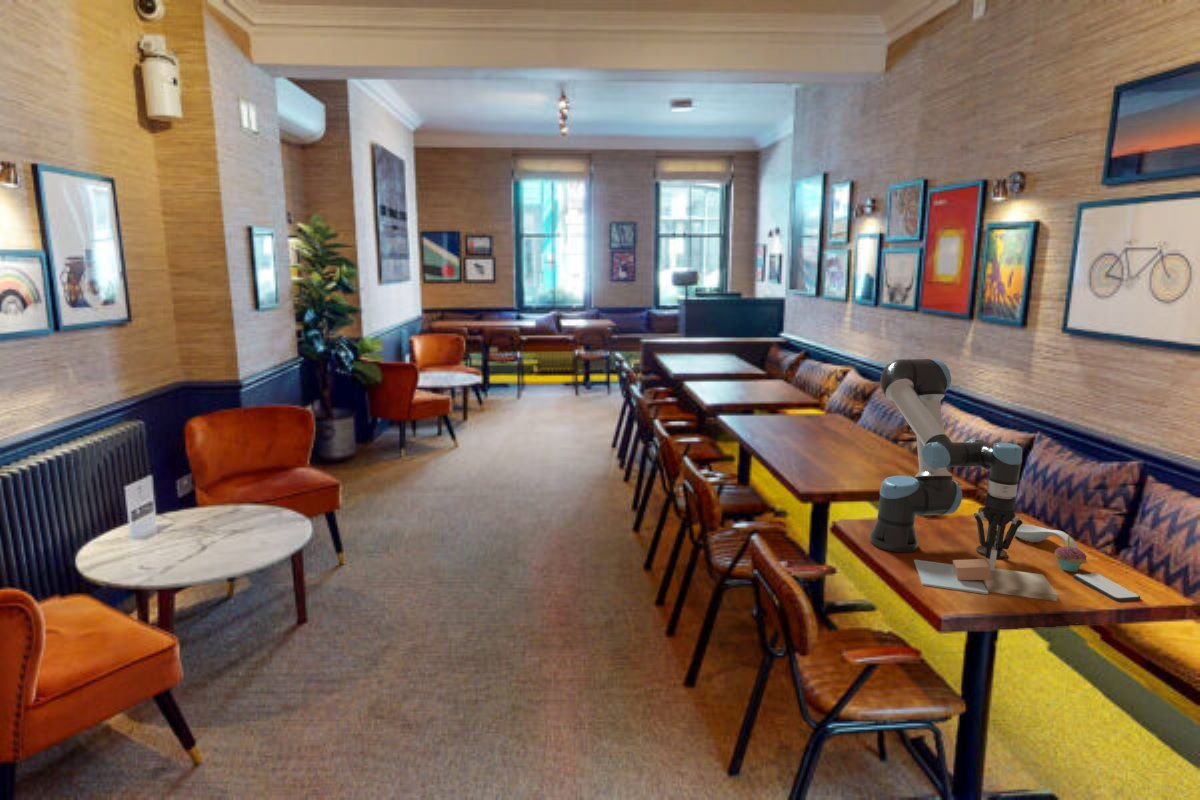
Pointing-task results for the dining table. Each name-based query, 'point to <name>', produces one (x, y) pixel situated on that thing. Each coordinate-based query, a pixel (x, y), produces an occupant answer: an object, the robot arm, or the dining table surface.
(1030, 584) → the beige flat rectangular piece
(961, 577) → the pink block
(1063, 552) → the cupcake
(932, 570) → the mat
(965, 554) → the dining table surface
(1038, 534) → the spoon rest
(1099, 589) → the phone case
